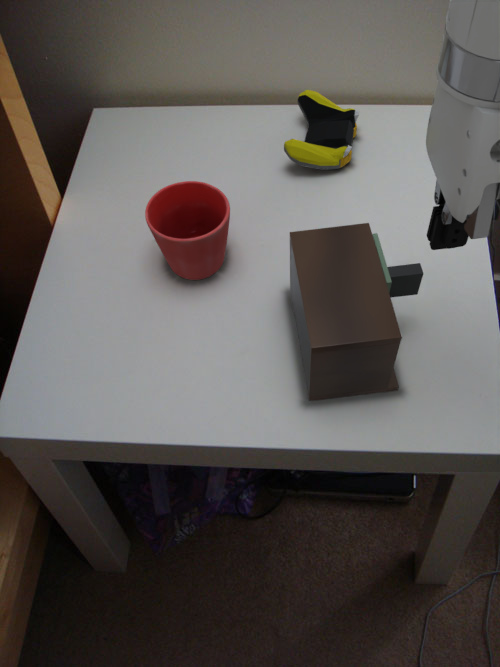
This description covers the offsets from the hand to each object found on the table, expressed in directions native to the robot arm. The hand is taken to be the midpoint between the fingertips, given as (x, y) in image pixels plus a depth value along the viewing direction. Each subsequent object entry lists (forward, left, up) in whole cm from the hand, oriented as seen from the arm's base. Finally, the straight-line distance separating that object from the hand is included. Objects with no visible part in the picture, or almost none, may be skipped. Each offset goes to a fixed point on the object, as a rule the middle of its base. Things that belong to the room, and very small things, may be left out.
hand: (445, 241), depth 55 cm
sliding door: (+1, -8, -20) cm, 22 cm away
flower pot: (+25, -20, -22) cm, 39 cm away
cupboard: (+8, -4, -22) cm, 23 cm away
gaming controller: (+4, -40, -22) cm, 46 cm away
